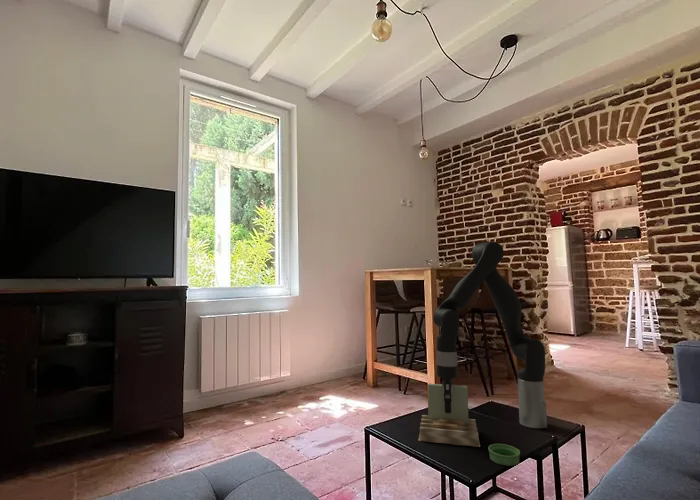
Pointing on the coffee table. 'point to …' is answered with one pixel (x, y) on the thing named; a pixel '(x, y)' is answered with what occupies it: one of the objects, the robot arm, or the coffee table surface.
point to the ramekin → (506, 450)
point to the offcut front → (445, 426)
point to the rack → (449, 433)
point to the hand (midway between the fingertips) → (447, 409)
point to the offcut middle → (451, 422)
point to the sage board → (457, 404)
